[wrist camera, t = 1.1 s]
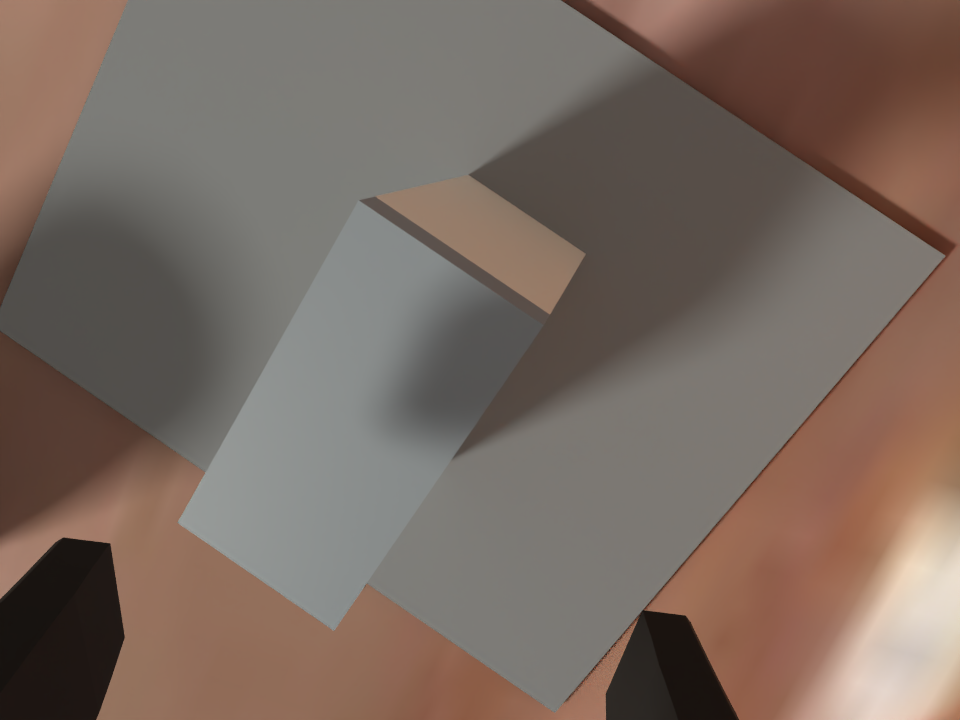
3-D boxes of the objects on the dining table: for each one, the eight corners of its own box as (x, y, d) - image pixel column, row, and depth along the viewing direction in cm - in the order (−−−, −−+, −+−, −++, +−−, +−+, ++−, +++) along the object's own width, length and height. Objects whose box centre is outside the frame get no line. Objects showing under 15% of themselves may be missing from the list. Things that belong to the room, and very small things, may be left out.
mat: (941, 253, 19) (945, 255, 19) (556, 705, 24) (554, 712, 24) (228, -220, 20) (222, -225, 19) (0, 323, 25) (-8, 325, 25)
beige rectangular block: (585, 253, 21) (543, 325, 13) (441, 465, 23) (334, 631, 15) (468, 174, 21) (358, 200, 13) (336, 393, 23) (177, 522, 15)
